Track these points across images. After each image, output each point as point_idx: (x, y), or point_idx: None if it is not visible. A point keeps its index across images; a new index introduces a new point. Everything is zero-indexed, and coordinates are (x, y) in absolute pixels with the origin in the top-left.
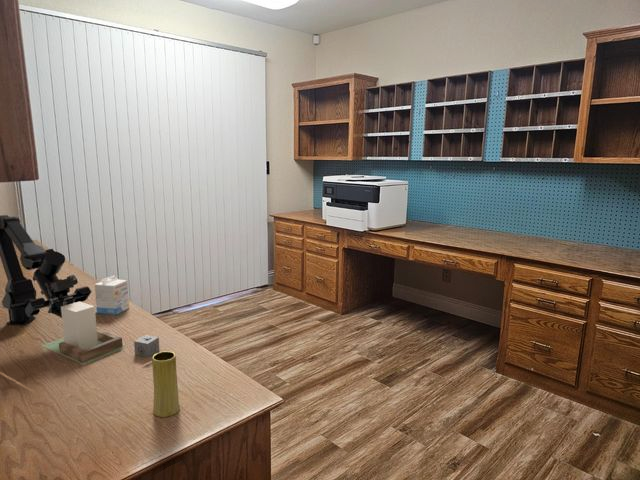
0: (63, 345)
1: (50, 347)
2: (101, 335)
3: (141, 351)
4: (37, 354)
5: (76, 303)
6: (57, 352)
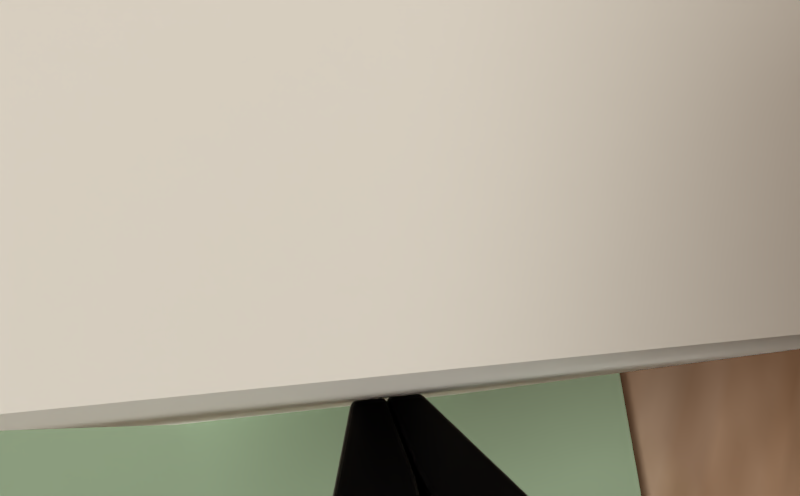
0: None
1: (605, 482)
2: None
3: None
4: (741, 441)
5: (310, 116)
6: None
